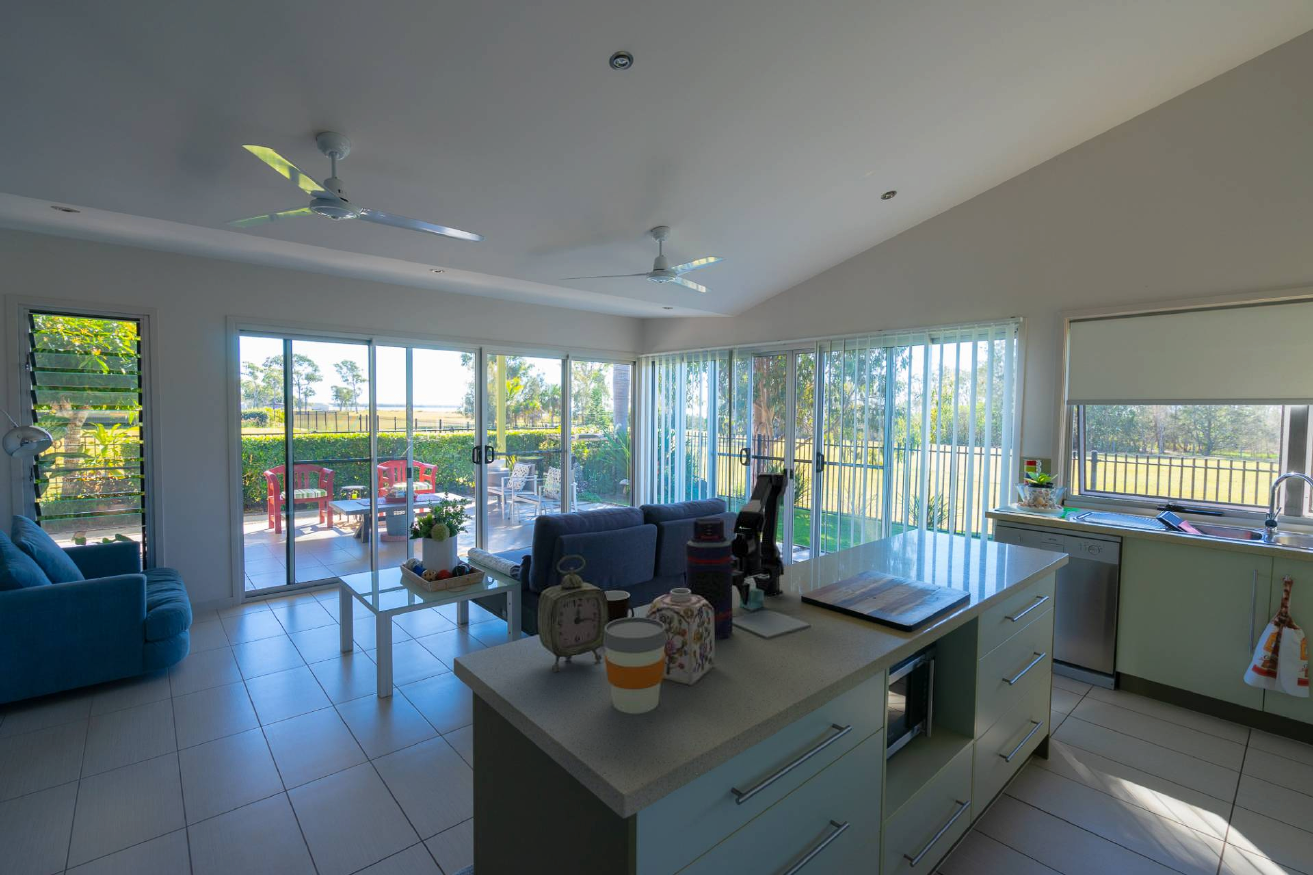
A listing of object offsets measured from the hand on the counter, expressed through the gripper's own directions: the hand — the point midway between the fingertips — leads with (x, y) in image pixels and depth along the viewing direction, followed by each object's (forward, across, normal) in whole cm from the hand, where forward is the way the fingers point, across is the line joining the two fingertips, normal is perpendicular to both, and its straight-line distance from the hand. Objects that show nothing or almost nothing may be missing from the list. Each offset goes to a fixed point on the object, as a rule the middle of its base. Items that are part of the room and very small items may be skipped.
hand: (751, 603), depth 175 cm
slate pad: (+1, +7, +14) cm, 16 cm away
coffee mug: (+1, +45, -3) cm, 45 cm away
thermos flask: (+1, +24, +10) cm, 26 cm away
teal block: (+1, 0, 0) cm, 1 cm away
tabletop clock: (+1, +62, +7) cm, 62 cm away
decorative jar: (+1, +44, +25) cm, 51 cm away
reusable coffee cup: (+1, +60, +32) cm, 68 cm away
